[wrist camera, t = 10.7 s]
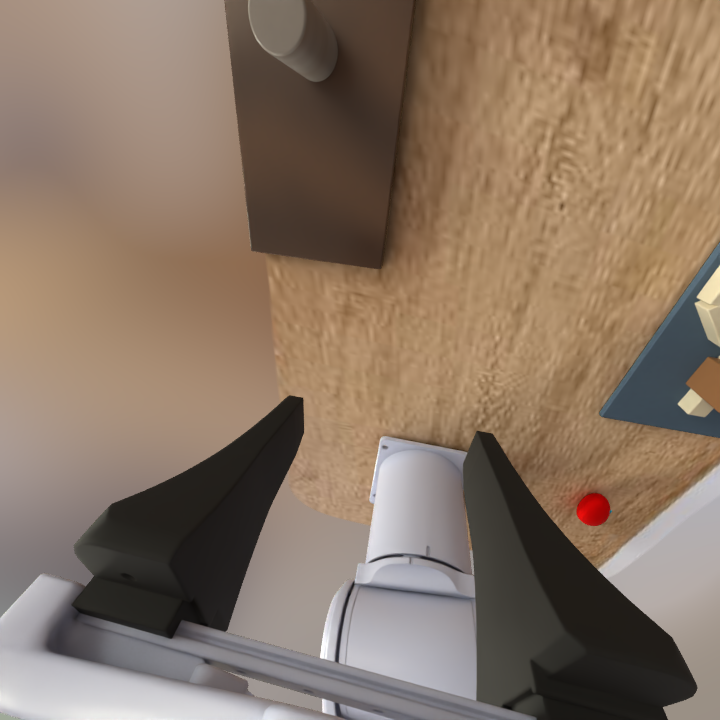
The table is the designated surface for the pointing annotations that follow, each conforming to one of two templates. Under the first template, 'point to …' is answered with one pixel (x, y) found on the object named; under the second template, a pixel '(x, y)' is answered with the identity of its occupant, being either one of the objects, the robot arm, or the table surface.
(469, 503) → the robot arm
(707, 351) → the mat
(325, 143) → the peg stand
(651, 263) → the table surface
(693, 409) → the octagonal ring with handle
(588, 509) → the candy
